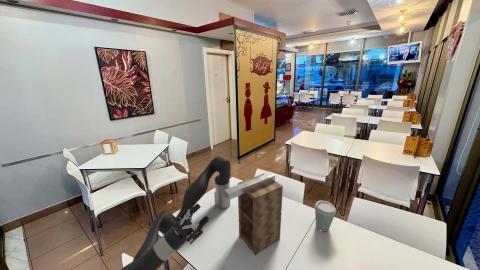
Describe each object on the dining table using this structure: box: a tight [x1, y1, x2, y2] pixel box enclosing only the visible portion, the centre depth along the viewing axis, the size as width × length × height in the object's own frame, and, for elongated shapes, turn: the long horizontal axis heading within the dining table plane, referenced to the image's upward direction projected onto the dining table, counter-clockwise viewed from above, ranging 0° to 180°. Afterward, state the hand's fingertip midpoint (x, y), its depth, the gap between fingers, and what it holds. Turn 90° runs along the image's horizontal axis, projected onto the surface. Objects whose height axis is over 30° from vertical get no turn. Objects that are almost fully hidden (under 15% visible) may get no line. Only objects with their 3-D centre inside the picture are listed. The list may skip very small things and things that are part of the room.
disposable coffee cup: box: [314, 200, 337, 232], centre depth 105 cm, size 11×11×15 cm
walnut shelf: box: [237, 173, 284, 256], centre depth 97 cm, size 16×14×32 cm
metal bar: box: [225, 172, 276, 201], centre depth 89 cm, size 26×4×3 cm, turn 123°
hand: (203, 210), depth 78 cm, fingers open, 8 cm apart
